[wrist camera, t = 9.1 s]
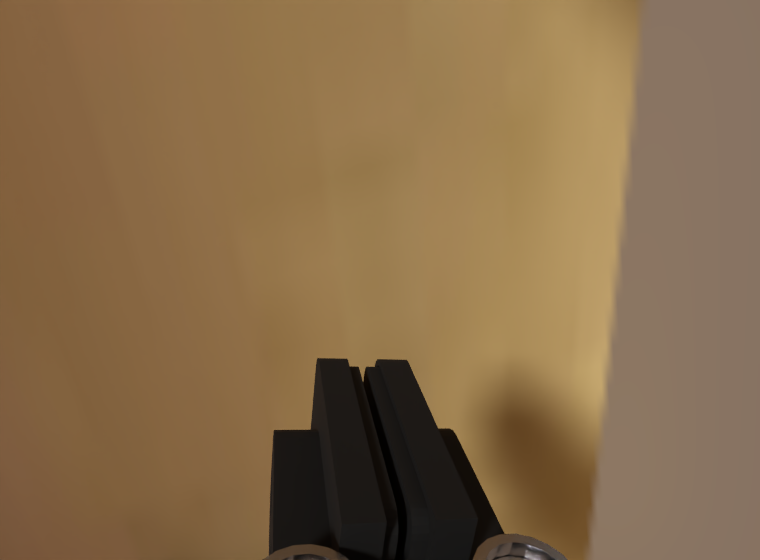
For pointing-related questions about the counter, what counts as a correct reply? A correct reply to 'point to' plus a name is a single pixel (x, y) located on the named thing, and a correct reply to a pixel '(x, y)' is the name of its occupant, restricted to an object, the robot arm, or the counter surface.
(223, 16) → the counter surface
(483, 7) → the counter surface
